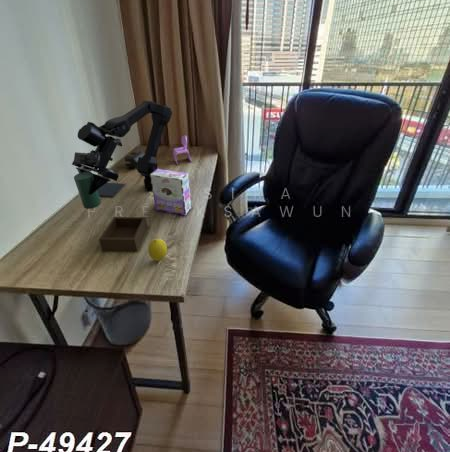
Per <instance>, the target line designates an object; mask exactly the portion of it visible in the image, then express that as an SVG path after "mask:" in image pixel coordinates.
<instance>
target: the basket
mask: <svg viewBox="0 0 450 452" xmlns="http://www.w3.org/2000/svg"><path fill="white" fill-rule="evenodd" d="M148 229H149V227H148V223H147V217H146V216H113V218H112V219H111V221H110V222H109V223H108V225H107V226H106V228H105V230H104V231H103V232H102V234H101V236H100V237H99V238H98V242H99V245H100V248H101V251H102V252H138V251H139V249H140V246H141V245H142V242H143V240H144V238H145V235H146V233H147V231H148Z"/></svg>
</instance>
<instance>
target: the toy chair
mask: <svg viewBox="0 0 450 452" xmlns="http://www.w3.org/2000/svg"><path fill="white" fill-rule="evenodd" d="M181 145H182V146H181V147H175V148H173V151H172V153H173V159H174V162H175V163H176V165H179V163H178V161H177V157H178V155H179V154H184V153H185V154H186V156H187V159H188V160H189V161H190V163H192V162H193V161H192V158H191V156H190V152H189V149H188V137H187V135H182V136H181Z"/></svg>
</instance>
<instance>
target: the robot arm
mask: <svg viewBox="0 0 450 452" xmlns="http://www.w3.org/2000/svg"><path fill="white" fill-rule="evenodd" d="M148 114H151V117H150V118H151V122H152V126H151V130H150V132H149V133H150V134H149V137H148V142H147V145H146V148H145V153H144V154H145V155H144V156H143V157H142V158H141V157H139V159H138V163H137V165H136V166H137V167H136V171H137V173H139V174H140V176H142V177H144V178H143V184H144V189H145V190H146V192H153V190H152V184H151V179H150V174H152V173H153V172H154V171H155V170H157V169H158V166H159V163H158V160H157V156H158V151H159V147H160V143H161V140H162V136H163V133H164V129H165V126H166V125H168V124H169V122H170V121H171V118H172V115H173V111H172V109H171V107H170V106H167V105H161V104H158V103H156V102H154V101H152V100H143V101H142V102H141V103H140V104H138V105H137V106H136V107H135V106H134V108H132V109H130V110H129V111H128V112H126V113H125V114H123V115H121V116H115V117H113V118H110V119H108V120H106V121H105V122H104V124H102V125H100V126H98V125H96V123H94V122H92V121H87V123H86V124H84V125H83V126H82V127H80V128H79V130H78V132H77V138H78V140H80V141H82V142H84V143H86V144H88V145H90V146H92V147H96V148H95V150H93V149H92V150H90V152H77V151H75V152H74V154H73V155H74V156H73V161H72V163H71V165H72V166H75V170H77V172H78V174H79V173H82V172H93V177H94V180H93V182H92V185H91V187H90V190H89V193H88V194H93V193H94V192H95V191H96V190H98V189H99V188H100V187H101V186H103V185H104V184H106V183H110V182H112V181H114V182H118V180H119V178H120V176H119V172H116V171H114V170H112V169H110V168H107V167H108V165H109V163H110V161H111V162H113V160H114V158H112V156H113V154H114V152H115V150H116V148H117V147H123V143H122V140H121V138H123V137H125V136H126V135H127V134H128V133H129V132H130V131H131V128H132V126H133V125H135V124H136V123H138V122H139V121H141V120H142V119H143V118H145V117H146V116H147V115H148ZM115 137H116V138H115ZM96 173H97V174H96Z"/></svg>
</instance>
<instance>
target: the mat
mask: <svg viewBox="0 0 450 452" xmlns="http://www.w3.org/2000/svg"><path fill="white" fill-rule="evenodd" d="M124 186H125V183H119V182H117V183H116V182H107V183H106V184H104V185H103V186H101V187H100V188H99V189H98V194H99V197H102V198H103V197H104V198H114V196H115V195H116V194H117V193H119V192H120V190H121V189H122V188H123V187H124Z"/></svg>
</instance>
